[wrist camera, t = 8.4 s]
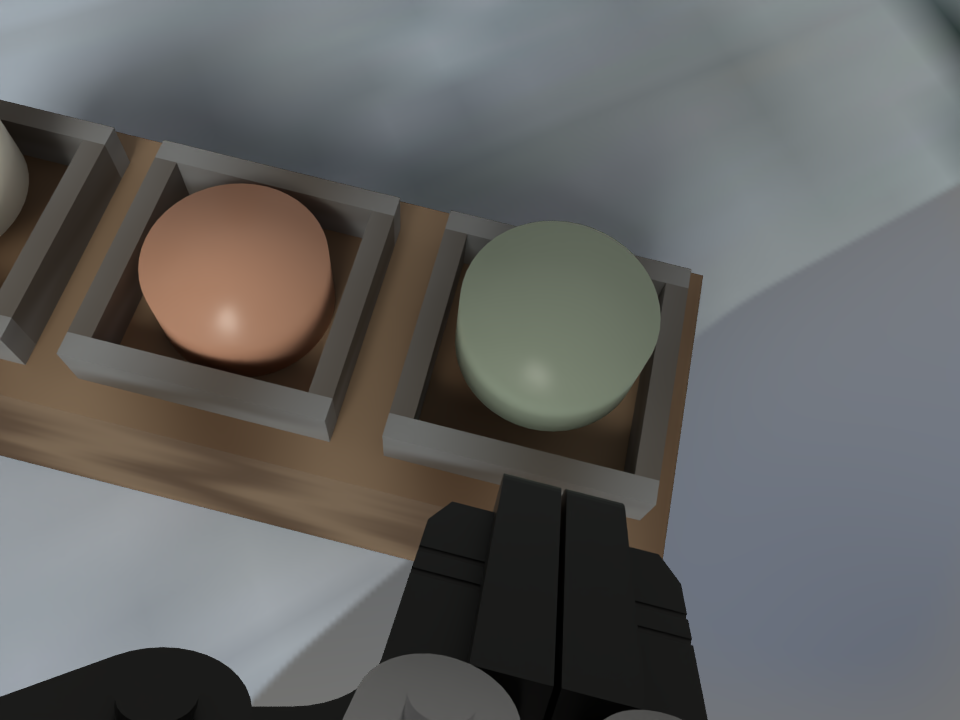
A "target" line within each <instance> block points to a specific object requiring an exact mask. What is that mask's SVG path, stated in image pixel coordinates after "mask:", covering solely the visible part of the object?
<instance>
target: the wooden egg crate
mask: <svg viewBox="0 0 960 720" xmlns="http://www.w3.org/2000/svg"><path fill="white" fill-rule="evenodd" d="M0 120H1V122H2V123H3V125H4V126H5V128H6V129H7V131H8V133H9V134H10V136H11V137H12V139H13V140H14V142H15V143H16V145H17V147H18V148H19V150H20V151H21V153H22V155H23V156H24V159H25V161H26V164H27V168H28V173H29V187H28V193H27V197H26V200H25V203H24V205H23V207H22V209H21V211H20V213H19V215H18V216H17V218H16V219H15V221H14V222H13V224H12V225H11V226H10V227H9V228H8V229H7V231H6V232H5V233H3V234H2V235H1V236H0V455H1V456H5V457H9V458H13V459H17V460H21V461H24V462H28V463H32V464H36V465H40V466H44V467H48V468H52V469H56V470H60V471H64V472H67V473H71V474H75V475H79V476H83V477H87V478H91V479H95V480H99V481H103V482H107V483H110V484H114V485H118V486H122V487H126V488H130V489H134V490H138V491H142V492H146V493H150V494H154V495H157V496H161V497H165V498H169V499H173V500H177V501H181V502H185V503H189V504H193V505H197V506H200V507H204V508H208V509H212V510H216V511H220V512H224V513H228V514H232V515H236V516H240V517H243V518H247V519H251V520H255V521H259V522H263V523H267V524H271V525H275V526H279V527H283V528H286V529H290V530H294V531H298V532H302V533H306V534H310V535H314V536H318V537H322V538H326V539H329V540H333V541H337V542H341V543H345V544H349V545H353V546H357V547H361V548H365V549H369V550H372V551H376V552H380V553H384V554H388V555H392V556H396V557H400V558H404V559H408V560H412V561H414V560H415V557H416V554H417V551H418V548H419V545H420V542H421V539H422V536H423V533H424V530H425V527H426V524H427V521H428V519H429V518H430V517H431V516H433V515H434V514H436V513H437V512H438V511H440V510H441V509H442V508H444V507H445V506H447V505H448V504H449V503H451V502H452V501H453V502H457V503H460V504H464V505H468V506H472V507H476V508H480V509H484V510H488V511H492V512H493V509H494V506H495V502H496V498H497V494H498V491H499V487H500V483H501V480H502V477H503V474H504V473H505V474H509V475H513V476H517V477H521V478H525V479H529V480H533V481H536V482H540V483H544V484H548V485H552V486H556V487H560V488H561V496H562V494H563V492H564V490H565V489H568V490H572V491H576V492H580V493H584V494H588V495H592V496H596V497H600V498H604V499H608V500H612V501H615V502H619V503H623V504H624V505H625V511H626V521H627V530H628V540H629V547H632V548H636V549H640V550H644V551H648V552H652V553H656V554H659V555H660V557H661V558H662V559H663V554H664V547H665V539H666V532H667V525H668V518H669V511H670V504H671V497H672V490H673V483H674V476H675V469H676V462H677V455H678V448H679V441H680V434H681V427H682V420H683V413H684V406H685V398H686V392H687V385H688V378H689V370H690V364H691V356H692V350H693V343H694V336H695V329H696V322H697V315H698V308H699V300H700V293H701V286H702V279H703V276H702V275H698V274H694V273H691V269H688V268H684V267H680V266H676V265H672V264H668V263H664V262H660V261H656V260H651V259H647V258H643V257H639V256H635V255H634V256H635V257H636V258H637V259H638V260H639V262H640V263H641V264H642V265H643V267H644V268H645V270H646V271H647V273H648V274H649V276H650V278H651V280H652V282H653V284H654V287H655V290H656V293H657V295H658V300H659V305H660V316H661V321H660V331H659V336H658V340H657V343H656V345H655V348H654V350H653V353H652V354H651V356H650V358H649V359H648V361H647V363H646V364H645V366H644V368H643V369H642V371H641V372H640V374H639V375H638V377H637V379H636V380H635V382H634V383H633V385H632V387H631V388H630V390H629V391H628V393H627V395H626V396H625V397H624V399H623V400H622V401H621V402H620V404H619V405H618V406H617V407H616V408H615V409H613V410H612V411H611V412H610V413H609V414H607V415H606V416H604V417H603V418H601V419H600V420H598V421H596V422H594V423H592V424H590V425H587V426H584V427H581V428H578V429H573V430H568V431H555V432H552V431H539V430H534V429H528V428H525V427H522V426H519V425H516V424H514V423H512V422H509V421H507V420H505V419H503V418H502V417H500V416H498V415H497V414H495V413H494V412H492V411H491V410H490V409H489V408H487V407H486V406H485V405H484V404H483V403H482V402H481V401H480V400H479V399H478V398H477V397H476V396H475V394H474V393H473V392H472V390H471V389H470V388H469V386H468V385H467V383H466V381H465V379H464V377H463V375H462V373H461V370H460V368H459V365H458V361H457V357H456V349H455V334H456V325H457V317H458V309H459V300H460V293H461V288H462V283H463V280H464V277H465V274H466V271H467V270H468V268H469V266H470V264H471V262H472V261H473V259H474V258H475V257H476V255H477V254H478V253H479V251H480V250H481V249H482V248H483V247H484V246H485V245H486V244H487V243H489V242H490V241H491V240H493V239H494V238H495V237H497V236H499V235H500V234H502V233H504V232H506V231H508V230H510V229H512V228H515V227H517V226H513V225H509V224H505V223H501V222H496V221H492V220H488V219H484V218H480V217H476V216H472V215H468V214H464V213H460V212H456V211H452V210H451V211H450V214H449V213H445V212H441V211H437V210H433V209H429V208H425V207H421V206H417V205H413V204H409V203H405V202H401V201H400V198H399V197H395V196H390V195H386V194H382V193H378V192H374V191H370V190H366V189H362V188H358V187H354V186H350V185H346V184H341V183H337V182H333V181H329V180H325V179H321V178H317V177H313V176H309V175H305V174H301V173H297V172H293V171H288V170H284V169H280V168H276V167H272V166H268V165H264V164H260V163H256V162H252V161H248V160H244V159H240V158H235V157H231V156H227V155H223V154H219V153H215V152H211V151H207V150H203V149H199V148H195V147H191V146H187V145H182V144H178V143H174V142H170V141H166V140H163V142H162V143H160V142H156V141H152V140H148V139H144V138H140V137H136V136H132V135H127V134H123V133H119V132H116V131H115V129H114V128H113V127H109V126H105V125H101V124H97V123H93V122H89V121H85V120H80V119H76V118H72V117H68V116H64V115H60V114H56V113H52V112H48V111H44V110H40V109H36V108H32V107H27V106H23V105H19V104H15V103H11V102H7V101H3V100H0ZM239 183H244V184H256V185H261V186H266V187H270V188H273V189H276V190H279V191H281V192H283V193H285V194H288V195H289V196H291V197H293V198H294V199H296V200H298V201H299V202H300V203H301V204H303V205H304V206H305V207H306V208H307V209H308V210H309V211H310V212H311V213H312V214H313V215H314V217H315V218H316V219H317V221H318V222H319V224H320V226H321V228H322V229H323V231H324V234H325V237H326V240H327V244H328V250H329V256H330V262H331V269H332V276H333V282H334V289H335V304H334V311H333V315H332V318H331V321H330V323H329V326H328V328H327V330H326V331H325V333H324V335H323V336H322V338H321V339H320V341H319V342H318V343H317V344H316V345H315V347H314V348H313V349H312V350H310V351H309V352H308V353H307V354H306V355H305V356H304V357H302V358H301V359H299V360H298V361H297V362H295V363H293V364H291V365H290V366H288V367H286V368H283V369H281V370H279V371H276V372H273V373H270V374H266V375H261V376H256V377H245V376H241V375H237V374H233V373H229V372H225V371H221V370H217V369H213V368H209V367H205V366H201V365H197V364H193V363H190V362H189V361H187V360H186V359H185V358H184V357H183V356H182V355H180V354H179V353H178V351H177V350H176V349H175V348H174V347H173V346H172V344H171V342H170V341H169V339H168V338H167V336H166V334H165V333H164V331H163V329H162V327H161V326H160V324H159V322H158V320H157V319H156V317H155V315H154V313H153V312H152V310H151V308H150V307H149V305H148V303H147V301H146V299H145V297H144V295H143V292H142V290H141V286H140V282H139V273H138V266H139V257H140V252H141V248H142V246H143V243H144V241H145V238H146V236H147V235H148V233H149V231H150V229H151V228H152V226H153V225H154V224H155V223H156V221H157V220H158V219H159V218H160V217H161V216H162V215H163V214H164V213H165V212H166V211H167V210H168V209H169V208H171V207H172V206H173V205H174V204H176V203H177V202H179V201H180V200H182V199H184V198H185V197H187V196H189V195H191V194H193V193H195V192H198V191H201V190H204V189H206V188H210V187H214V186H218V185H225V184H239Z"/></svg>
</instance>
